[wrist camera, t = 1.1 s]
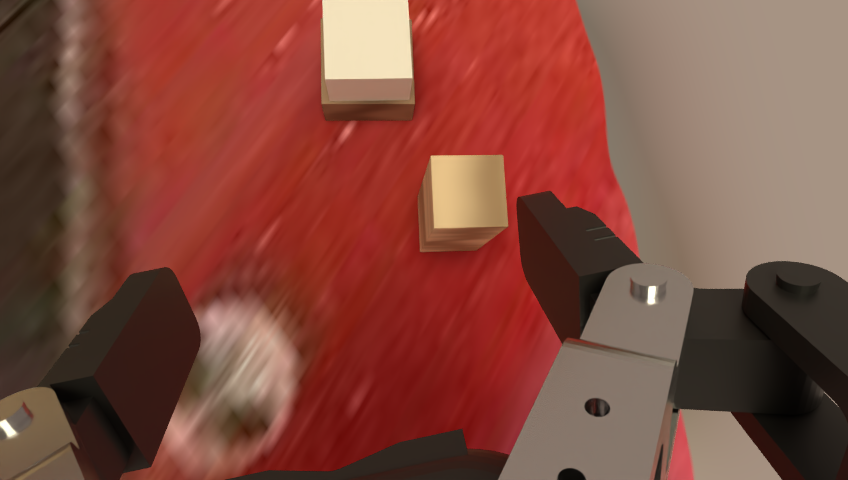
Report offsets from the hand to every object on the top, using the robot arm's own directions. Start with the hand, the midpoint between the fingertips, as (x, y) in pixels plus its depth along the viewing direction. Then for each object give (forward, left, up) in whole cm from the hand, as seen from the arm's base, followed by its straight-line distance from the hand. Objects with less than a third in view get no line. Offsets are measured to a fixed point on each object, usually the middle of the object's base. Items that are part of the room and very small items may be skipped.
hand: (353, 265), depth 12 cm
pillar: (+5, +7, -28) cm, 29 cm away
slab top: (-3, +18, -25) cm, 31 cm away
